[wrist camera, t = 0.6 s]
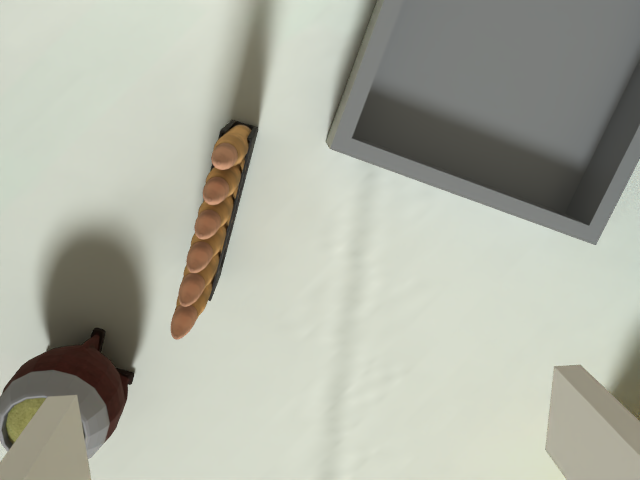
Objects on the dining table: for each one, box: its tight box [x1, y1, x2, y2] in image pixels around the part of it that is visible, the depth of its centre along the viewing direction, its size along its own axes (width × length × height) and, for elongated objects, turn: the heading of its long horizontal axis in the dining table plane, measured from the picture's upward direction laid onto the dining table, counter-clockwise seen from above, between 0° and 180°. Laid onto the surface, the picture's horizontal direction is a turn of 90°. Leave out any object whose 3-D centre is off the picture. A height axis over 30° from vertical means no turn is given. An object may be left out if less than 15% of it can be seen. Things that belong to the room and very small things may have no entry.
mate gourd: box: [0, 328, 134, 459], centre depth 33 cm, size 8×8×15 cm
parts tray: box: [326, 0, 640, 245], centre depth 34 cm, size 18×18×4 cm
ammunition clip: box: [171, 120, 258, 339], centre depth 32 cm, size 11×2×12 cm, turn 164°
